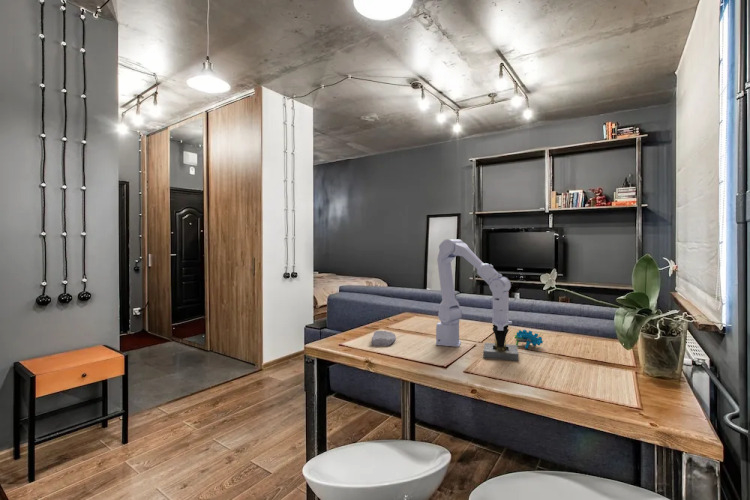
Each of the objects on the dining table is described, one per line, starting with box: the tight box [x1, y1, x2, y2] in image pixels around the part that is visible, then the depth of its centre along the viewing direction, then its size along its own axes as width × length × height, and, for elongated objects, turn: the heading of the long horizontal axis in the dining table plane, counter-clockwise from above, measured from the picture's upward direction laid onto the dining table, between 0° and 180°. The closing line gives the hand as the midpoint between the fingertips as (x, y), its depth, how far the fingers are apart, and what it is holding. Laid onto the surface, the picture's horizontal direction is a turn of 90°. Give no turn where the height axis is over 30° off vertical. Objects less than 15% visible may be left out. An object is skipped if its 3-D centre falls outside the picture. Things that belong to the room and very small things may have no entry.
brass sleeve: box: [494, 335, 507, 351], centre depth 136 cm, size 4×4×7 cm
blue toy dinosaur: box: [514, 329, 544, 350], centre depth 145 cm, size 11×6×10 cm
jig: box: [482, 342, 519, 362], centre depth 136 cm, size 12×12×2 cm
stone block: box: [371, 330, 397, 347], centre depth 155 cm, size 12×5×10 cm
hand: (500, 345), depth 136 cm, fingers closed on brass sleeve, 4 cm apart
